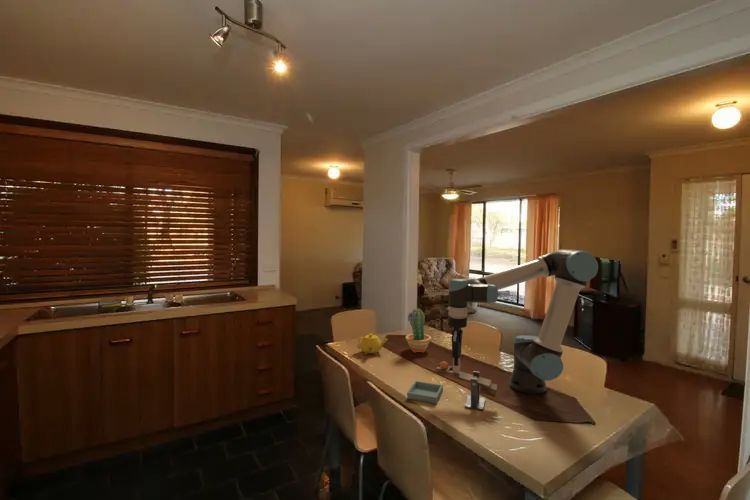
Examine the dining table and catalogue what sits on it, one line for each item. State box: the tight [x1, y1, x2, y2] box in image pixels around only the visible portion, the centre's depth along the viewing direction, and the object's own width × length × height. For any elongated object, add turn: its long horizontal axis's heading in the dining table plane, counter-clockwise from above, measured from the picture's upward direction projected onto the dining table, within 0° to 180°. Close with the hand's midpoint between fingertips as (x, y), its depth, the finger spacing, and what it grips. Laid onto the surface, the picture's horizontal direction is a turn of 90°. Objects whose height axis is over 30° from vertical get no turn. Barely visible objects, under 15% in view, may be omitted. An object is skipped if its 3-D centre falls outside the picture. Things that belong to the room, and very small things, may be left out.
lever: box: [435, 362, 498, 398], centre depth 143 cm, size 24×6×5 cm, turn 67°
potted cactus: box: [405, 308, 432, 353], centre depth 207 cm, size 15×15×25 cm
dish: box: [406, 380, 444, 405], centre depth 150 cm, size 13×13×3 cm
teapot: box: [356, 333, 389, 356], centre depth 204 cm, size 14×14×11 cm
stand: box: [464, 370, 486, 412], centre depth 142 cm, size 7×10×12 cm
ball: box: [440, 360, 449, 370], centre depth 147 cm, size 4×4×4 cm
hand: (456, 372), depth 145 cm, fingers closed
